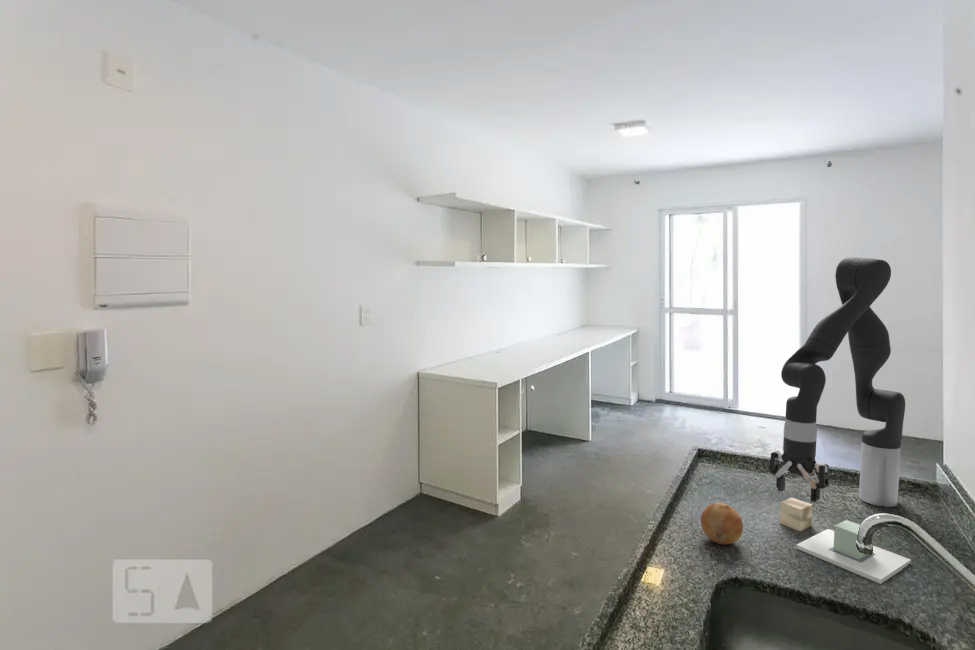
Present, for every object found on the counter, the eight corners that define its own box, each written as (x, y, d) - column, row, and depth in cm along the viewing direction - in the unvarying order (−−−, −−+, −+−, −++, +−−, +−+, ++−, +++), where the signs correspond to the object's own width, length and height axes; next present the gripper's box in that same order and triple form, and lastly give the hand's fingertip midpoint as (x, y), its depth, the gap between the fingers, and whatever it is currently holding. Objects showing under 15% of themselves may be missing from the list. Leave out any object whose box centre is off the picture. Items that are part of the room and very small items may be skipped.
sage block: (845, 543, 130) (846, 519, 130) (870, 553, 126) (871, 528, 125) (833, 549, 128) (834, 525, 127) (858, 559, 123) (860, 535, 122)
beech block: (790, 518, 147) (791, 497, 146) (811, 526, 142) (812, 504, 141) (779, 523, 144) (780, 502, 143) (800, 531, 139) (801, 509, 139)
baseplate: (827, 532, 138) (828, 528, 138) (910, 563, 123) (910, 559, 123) (796, 548, 130) (796, 544, 130) (880, 583, 115) (880, 579, 115)
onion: (739, 535, 137) (740, 498, 136) (744, 554, 128) (745, 514, 127) (699, 530, 140) (700, 493, 140) (701, 548, 131) (702, 509, 130)
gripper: (836, 441, 136) (832, 502, 138) (780, 428, 148) (778, 484, 150) (821, 446, 132) (817, 508, 134) (765, 432, 144) (763, 490, 146)
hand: (797, 495), depth 142 cm, fingers open, 8 cm apart
